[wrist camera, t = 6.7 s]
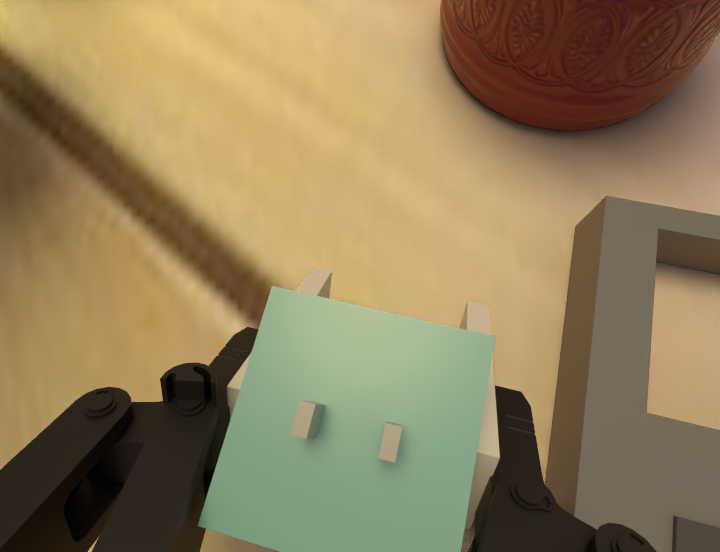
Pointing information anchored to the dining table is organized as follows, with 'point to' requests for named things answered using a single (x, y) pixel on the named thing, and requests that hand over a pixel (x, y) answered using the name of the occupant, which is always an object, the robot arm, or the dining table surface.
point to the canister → (575, 55)
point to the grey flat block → (630, 384)
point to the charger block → (351, 431)
